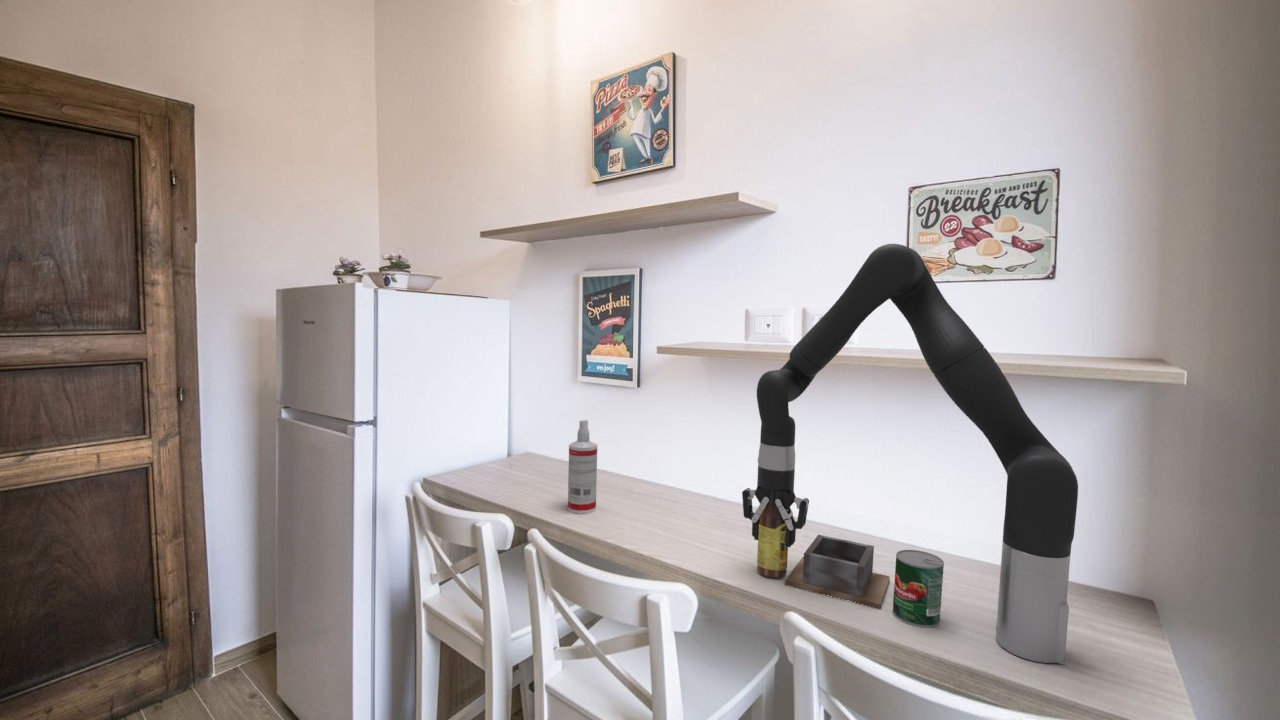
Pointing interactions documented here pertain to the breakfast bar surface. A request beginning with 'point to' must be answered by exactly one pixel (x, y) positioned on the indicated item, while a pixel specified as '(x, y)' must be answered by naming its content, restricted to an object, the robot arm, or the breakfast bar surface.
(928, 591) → the canned tomato
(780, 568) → the sauce bottle
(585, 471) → the spray bottle
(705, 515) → the breakfast bar surface
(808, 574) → the bottle holder
